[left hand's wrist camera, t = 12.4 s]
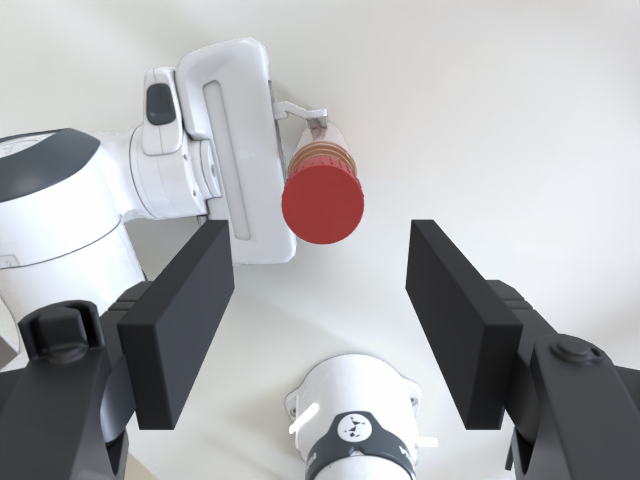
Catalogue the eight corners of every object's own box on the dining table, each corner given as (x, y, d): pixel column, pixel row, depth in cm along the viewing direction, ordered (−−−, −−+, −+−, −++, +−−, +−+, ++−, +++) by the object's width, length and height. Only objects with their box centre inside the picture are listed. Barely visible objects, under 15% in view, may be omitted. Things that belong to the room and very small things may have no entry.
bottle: (314, 173, 43) (307, 261, 21) (291, 135, 42) (259, 187, 20) (351, 151, 42) (384, 219, 20) (329, 112, 41) (340, 139, 19)
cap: (309, 241, 23) (308, 259, 21) (269, 179, 22) (263, 191, 19) (373, 206, 22) (379, 220, 20) (336, 140, 21) (338, 146, 19)
